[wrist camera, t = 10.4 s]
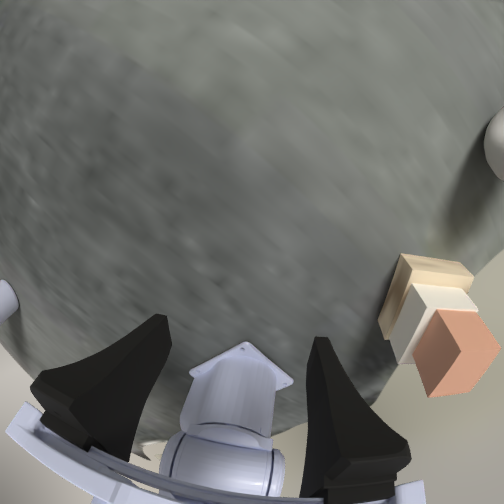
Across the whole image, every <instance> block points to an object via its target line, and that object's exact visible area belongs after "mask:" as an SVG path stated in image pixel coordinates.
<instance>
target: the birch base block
mask: <svg viewBox="0 0 504 504" xmlns="http://www.w3.org/2000/svg"><path fill="white" fill-rule="evenodd" d="M473 279H474V276H473V275H472V274H471V273H470V272H469V271H468V270H467V269H466V268H465V267H464V266H463V265H462V264H461V263H460V262H454V261H448V260H442V259H435V258H429V257H422V256H415V255H409V254H402V253H401V254H400V257H399V260H398V264H397V267H396V270H395V273H394V276H393V279H392V282H391V285H390V288H389V291H388V294H387V297H386V299H385V302H384V305H383V307H382V310H381V313H380V315H379V318H378V323H379V325H380V328H381V331H382V334H383V337H384V340H389V336H390V334H391V332H392V330H393V328H394V326H395V323H396V321H397V319H398V316H399V314H400V312H401V309H402V307H403V304H404V302H405V300H406V297H407V294H408V292H409V289H410V287H411V284H412V283H415V284H424V285H434V286H443V287H453V288H462V289H463V290H464V292H465V293H466V294H467V293H468V291H469V289H470V287H471V284H472V282H473Z"/></svg>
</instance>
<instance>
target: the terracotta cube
mask: <svg viewBox="0 0 504 504" xmlns="http://www.w3.org/2000/svg"><path fill="white" fill-rule="evenodd" d="M500 350H501V347H500V346H499V344H498V343H497V341H496V340H495V338H494V337H493V335H492V334H491V332H490V331H489V329H488V328H487V326H486V325H485V324H484V322H483V321H482V319H481V318H480V317H479V315H478V314H477V313H476V312H473V311H457V310H443V309H436V311H435V313H434V315H433V317H432V319H431V321H430V323H429V325H428V327H427V329H426V331H425V332H424V334H423V336H422V338H421V340H420V342H419V343H418V345H417V347H416V349H415V350H414V352H413V354H412V356H413V358H414V361H415V363H416V366H417V369H418V371H419V374H420V377H421V379H422V382H423V385H424V388H425V391H426V394H427V397H428V398H430V397H438V396H447V395H453V394H459V393H465V392H470V391H471V389H472V388H473V387H474V386H475V384H476V383H477V382H478V381H479V379H480V378H481V377H482V375H483V374H484V373H485V371H486V370H487V368H488V367H489V366H490V364H491V363H492V362H493V360H494V358H495V357H496V355H497V354H498V352H499V351H500Z"/></svg>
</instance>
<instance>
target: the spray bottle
mask: <svg viewBox="0 0 504 504" xmlns="http://www.w3.org/2000/svg"><path fill="white" fill-rule="evenodd" d="M18 307H19V303H18V299H17V296H16V294H15V292H14V290H13V289H12V287H11V286H10V284H9V283H8V282H7V281H5V280H0V325H1V324H2V323H3V322H4V321H5V320H6V319H7V318H9V317H10V316H11V315H12V314H13V313H14V312H15V311H16V310H17V309H18Z"/></svg>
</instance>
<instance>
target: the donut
mask: <svg viewBox="0 0 504 504" xmlns="http://www.w3.org/2000/svg"><path fill="white" fill-rule="evenodd" d="M484 150H485V156H486V160H487V162H488V164H489V166H490V167H491V169H492V170H493V172H494V173H495V175H496V176H497V177H498V178H499V179H501V180H502V181H504V107H503V108H501V109H500V110H499V111H498V112H497V114H496V115H495V116H494V117H493V118H492V119H491V121H490V123H489V125H488V127H487V129H486V134H485V139H484Z"/></svg>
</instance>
